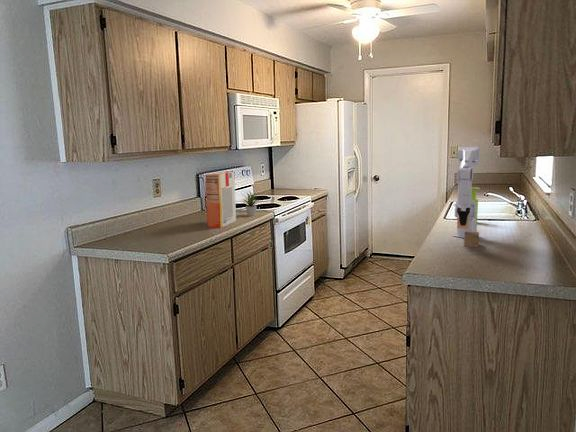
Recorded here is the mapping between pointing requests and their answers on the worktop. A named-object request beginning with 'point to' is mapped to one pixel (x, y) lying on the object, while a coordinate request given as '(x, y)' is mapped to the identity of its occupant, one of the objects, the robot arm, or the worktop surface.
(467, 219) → the terracotta block
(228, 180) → the pasta box
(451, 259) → the worktop surface
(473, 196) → the soap dispenser
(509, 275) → the worktop surface
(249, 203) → the house plant
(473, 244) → the tower base
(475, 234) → the tower top
